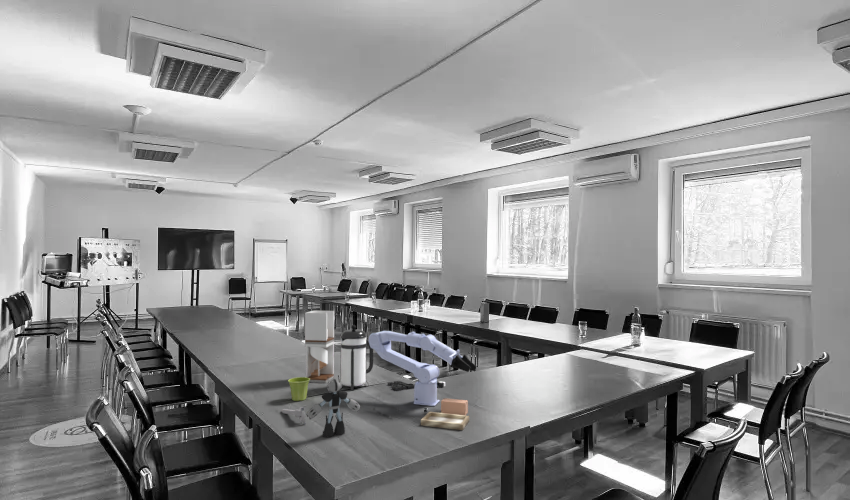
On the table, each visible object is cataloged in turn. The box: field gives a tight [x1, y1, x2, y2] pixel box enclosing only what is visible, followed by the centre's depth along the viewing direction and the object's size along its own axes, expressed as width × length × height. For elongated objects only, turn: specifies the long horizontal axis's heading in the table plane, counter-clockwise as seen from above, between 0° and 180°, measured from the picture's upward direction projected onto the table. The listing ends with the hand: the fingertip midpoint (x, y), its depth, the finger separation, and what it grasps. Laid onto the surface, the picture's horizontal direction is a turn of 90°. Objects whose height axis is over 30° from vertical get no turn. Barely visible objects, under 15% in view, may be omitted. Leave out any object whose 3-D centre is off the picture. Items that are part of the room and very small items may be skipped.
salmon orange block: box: [440, 397, 469, 416], centre depth 186 cm, size 10×4×5 cm, turn 71°
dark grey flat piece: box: [387, 380, 446, 392], centre depth 227 cm, size 20×25×3 cm
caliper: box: [280, 406, 306, 425], centre depth 180 cm, size 21×1×6 cm, turn 39°
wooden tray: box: [420, 411, 470, 431], centre depth 173 cm, size 16×10×2 cm, turn 71°
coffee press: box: [339, 324, 374, 391], centre depth 227 cm, size 17×16×30 cm
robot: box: [305, 375, 361, 438], centre depth 163 cm, size 20×5×20 cm, turn 120°
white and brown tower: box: [304, 310, 335, 384], centre depth 239 cm, size 11×11×35 cm
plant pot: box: [287, 376, 310, 402], centre depth 205 cm, size 9×9×9 cm
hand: (472, 369), depth 189 cm, fingers open, 7 cm apart
